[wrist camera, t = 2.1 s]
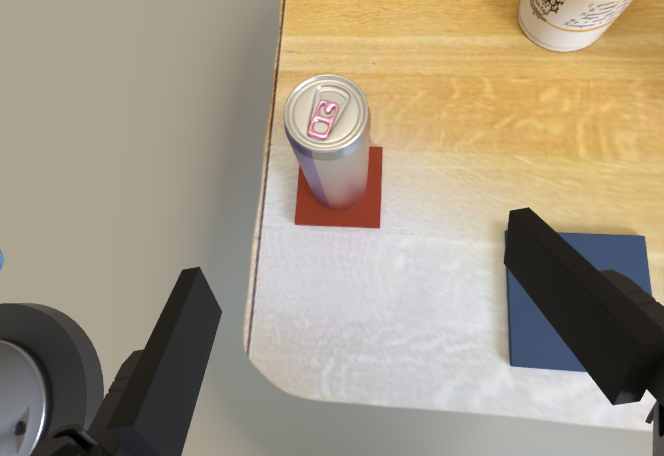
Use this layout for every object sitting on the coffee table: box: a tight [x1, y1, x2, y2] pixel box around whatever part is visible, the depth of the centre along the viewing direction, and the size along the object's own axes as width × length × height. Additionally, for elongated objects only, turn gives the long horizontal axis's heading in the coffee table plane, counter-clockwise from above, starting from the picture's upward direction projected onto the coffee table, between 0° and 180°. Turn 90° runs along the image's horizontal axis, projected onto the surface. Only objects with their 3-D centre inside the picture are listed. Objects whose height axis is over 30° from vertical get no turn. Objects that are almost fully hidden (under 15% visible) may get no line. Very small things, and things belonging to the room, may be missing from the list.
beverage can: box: [284, 74, 371, 210], centre depth 30 cm, size 6×6×15 cm
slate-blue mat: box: [505, 230, 652, 372], centre depth 33 cm, size 13×13×1 cm
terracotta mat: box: [295, 147, 382, 228], centre depth 38 cm, size 9×9×1 cm
